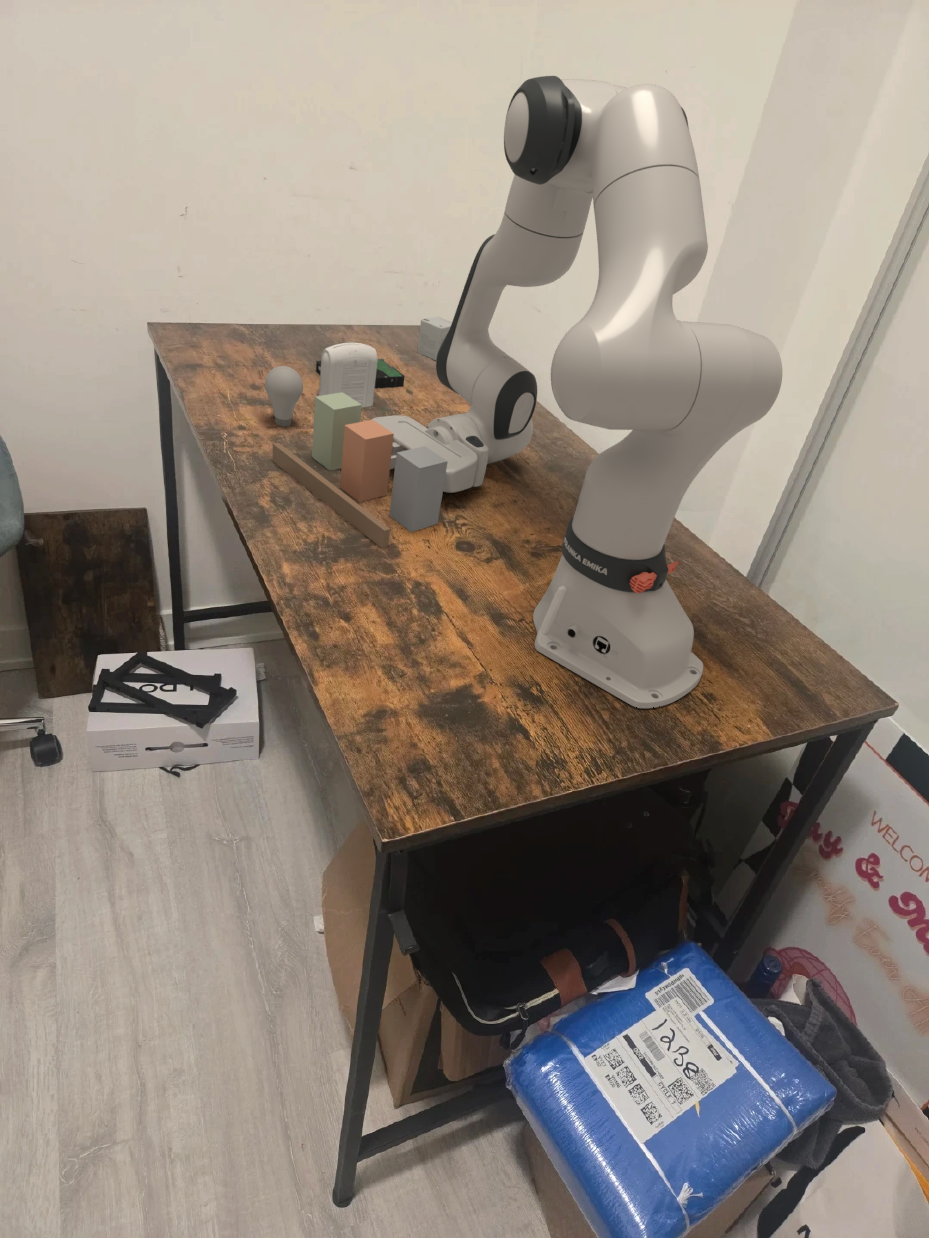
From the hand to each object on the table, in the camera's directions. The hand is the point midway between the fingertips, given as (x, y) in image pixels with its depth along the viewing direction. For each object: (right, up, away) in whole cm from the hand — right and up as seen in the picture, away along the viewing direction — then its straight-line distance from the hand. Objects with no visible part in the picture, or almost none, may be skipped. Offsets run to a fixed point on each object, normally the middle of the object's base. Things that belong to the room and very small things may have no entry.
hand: (380, 460), depth 117 cm
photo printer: (-9, +14, +27) cm, 32 cm away
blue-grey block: (+5, -9, -3) cm, 11 cm away
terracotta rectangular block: (-3, -4, +1) cm, 5 cm away
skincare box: (+6, +35, +59) cm, 69 cm away
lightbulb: (-18, +8, +16) cm, 26 cm away
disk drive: (-8, +24, +41) cm, 48 cm away
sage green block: (-8, +1, +7) cm, 11 cm away
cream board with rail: (-2, -5, +3) cm, 6 cm away
